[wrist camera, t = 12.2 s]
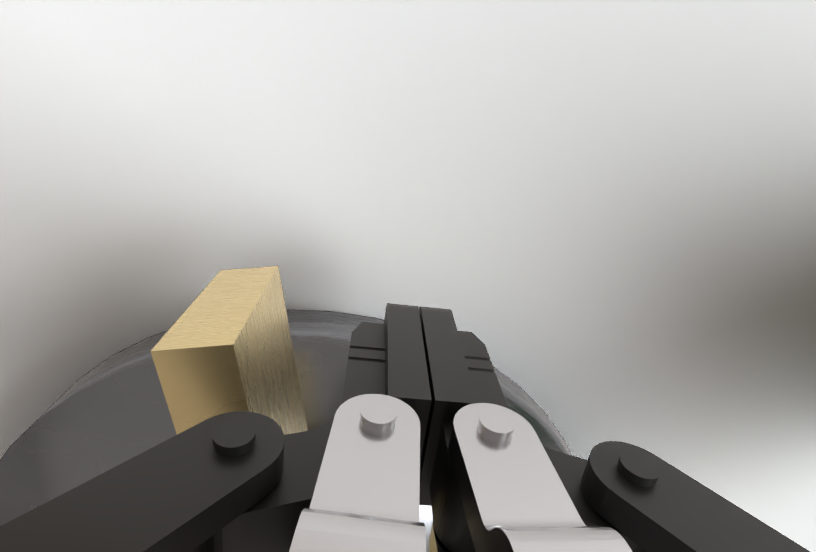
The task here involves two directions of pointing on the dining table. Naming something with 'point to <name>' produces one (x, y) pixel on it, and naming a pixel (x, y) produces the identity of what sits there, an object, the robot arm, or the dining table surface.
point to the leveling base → (152, 424)
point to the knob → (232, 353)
